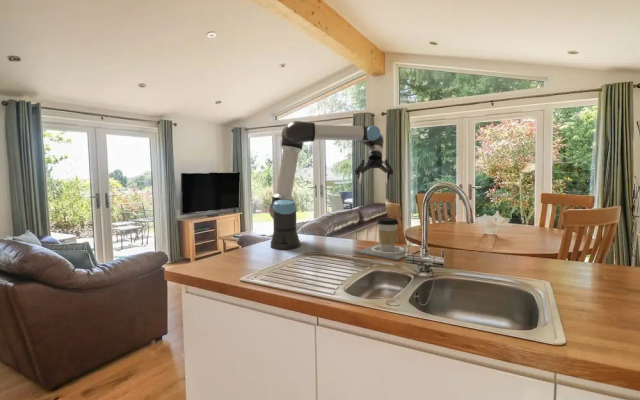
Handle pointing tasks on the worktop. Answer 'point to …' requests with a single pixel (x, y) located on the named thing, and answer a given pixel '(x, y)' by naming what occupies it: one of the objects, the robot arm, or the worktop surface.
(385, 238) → the coffee cup
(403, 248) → the slate board
